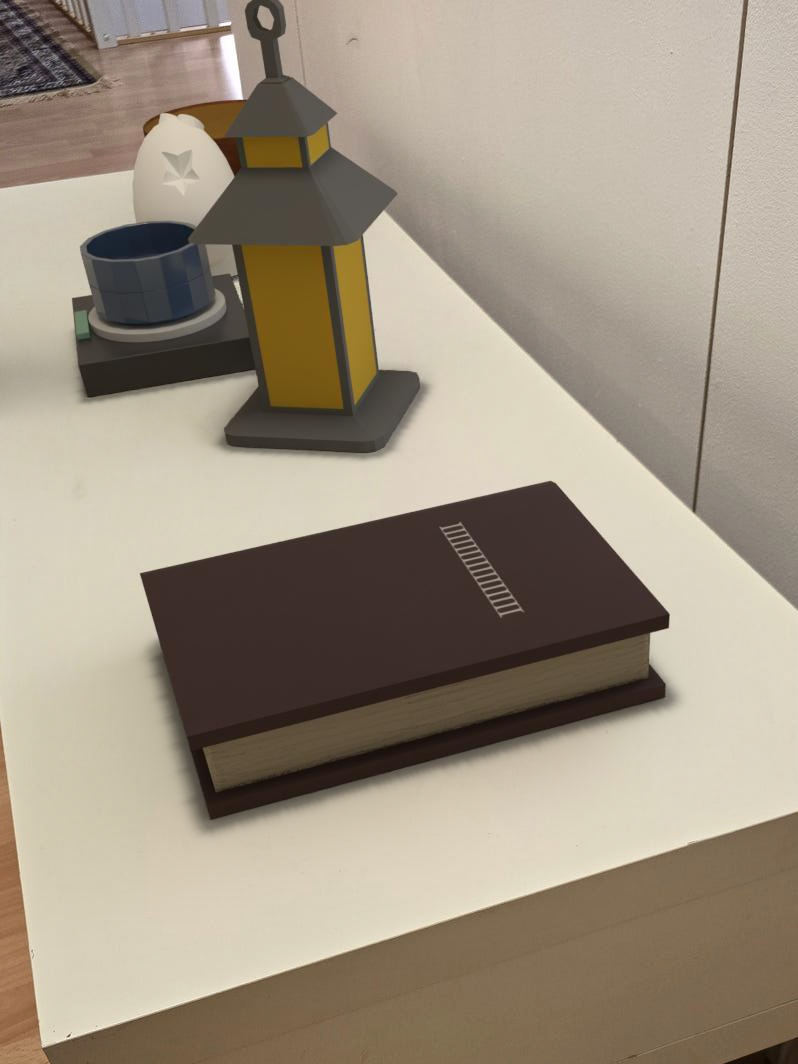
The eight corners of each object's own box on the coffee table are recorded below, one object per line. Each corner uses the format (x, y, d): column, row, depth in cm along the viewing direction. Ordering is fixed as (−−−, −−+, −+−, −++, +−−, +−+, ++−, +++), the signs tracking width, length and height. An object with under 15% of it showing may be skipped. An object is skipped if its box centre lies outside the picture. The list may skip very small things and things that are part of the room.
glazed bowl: (81, 331, 113) (62, 263, 109) (120, 287, 121) (103, 222, 117) (197, 328, 112) (182, 260, 108) (229, 284, 120) (216, 219, 116)
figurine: (255, 286, 130) (226, 127, 119) (148, 298, 129) (110, 139, 119) (253, 252, 138) (226, 100, 127) (152, 263, 137) (117, 112, 127)
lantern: (380, 453, 100) (326, 15, 79) (220, 445, 103) (128, 21, 82) (423, 381, 110) (386, -25, 89) (276, 376, 112) (206, -19, 92)
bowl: (159, 200, 154) (139, 110, 148) (297, 182, 157) (283, 92, 150) (167, 243, 142) (146, 147, 135) (316, 222, 144) (303, 127, 137)
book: (546, 547, 87) (544, 470, 83) (665, 696, 74) (669, 613, 70) (158, 639, 82) (136, 561, 78) (210, 819, 68) (186, 736, 64)
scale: (87, 397, 111) (75, 355, 109) (80, 328, 124) (69, 289, 121) (260, 368, 114) (252, 327, 111) (235, 303, 127) (228, 264, 124)
